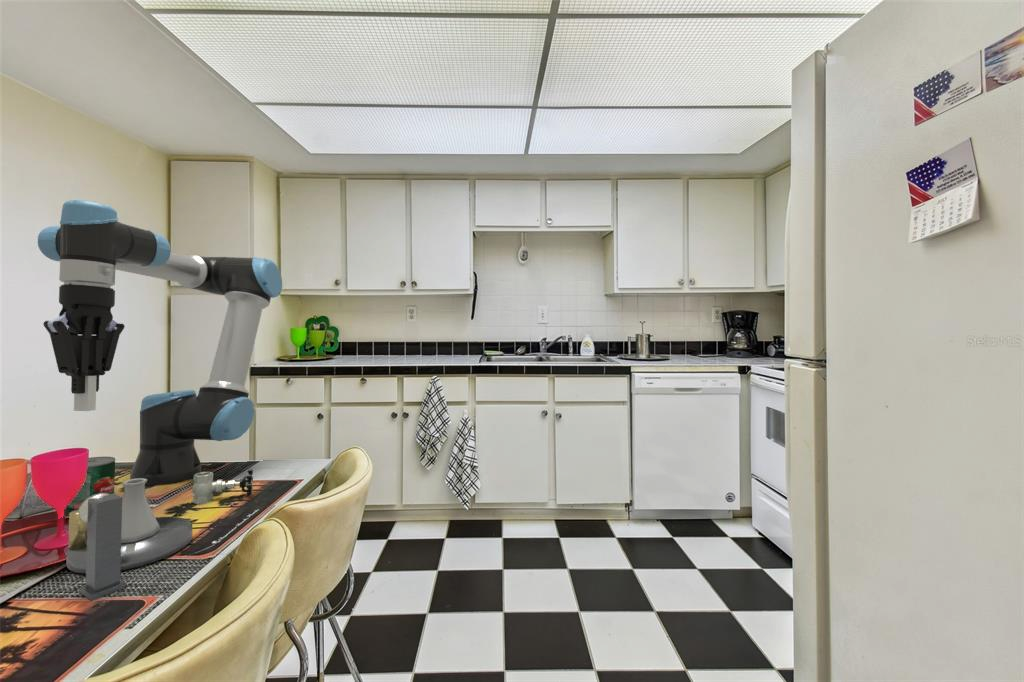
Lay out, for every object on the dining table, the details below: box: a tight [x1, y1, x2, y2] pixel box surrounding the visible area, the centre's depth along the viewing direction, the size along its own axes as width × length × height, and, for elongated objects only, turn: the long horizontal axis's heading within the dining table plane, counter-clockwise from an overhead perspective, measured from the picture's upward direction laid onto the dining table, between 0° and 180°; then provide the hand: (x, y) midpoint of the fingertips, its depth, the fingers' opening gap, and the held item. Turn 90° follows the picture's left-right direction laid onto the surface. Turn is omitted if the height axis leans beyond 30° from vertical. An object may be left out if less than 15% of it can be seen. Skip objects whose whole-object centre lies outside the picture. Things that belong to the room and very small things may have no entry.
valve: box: [191, 468, 254, 505], centre depth 103 cm, size 7×7×12 cm
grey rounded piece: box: [65, 510, 193, 574], centre depth 78 cm, size 17×17×8 cm
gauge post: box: [78, 493, 127, 601], centre depth 66 cm, size 4×5×14 cm
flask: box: [121, 478, 161, 543], centre depth 78 cm, size 7×7×10 cm
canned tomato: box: [65, 456, 116, 519], centre depth 94 cm, size 8×8×11 cm
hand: (84, 410), depth 82 cm, fingers closed
